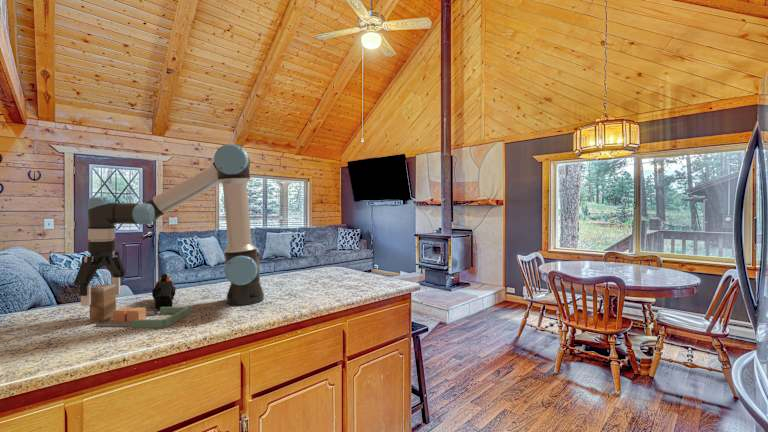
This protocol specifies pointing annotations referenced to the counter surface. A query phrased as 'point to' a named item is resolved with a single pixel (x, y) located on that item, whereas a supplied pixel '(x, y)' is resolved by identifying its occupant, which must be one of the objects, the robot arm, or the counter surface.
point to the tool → (163, 292)
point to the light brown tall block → (102, 302)
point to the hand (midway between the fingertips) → (101, 299)
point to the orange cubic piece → (120, 314)
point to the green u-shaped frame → (178, 314)
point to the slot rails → (121, 324)
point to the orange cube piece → (136, 314)
